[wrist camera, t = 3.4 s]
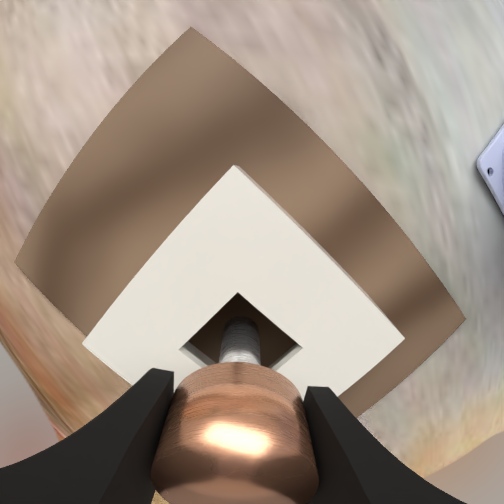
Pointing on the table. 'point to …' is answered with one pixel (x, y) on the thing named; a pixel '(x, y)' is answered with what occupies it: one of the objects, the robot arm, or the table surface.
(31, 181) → the table surface
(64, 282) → the board
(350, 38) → the table surface
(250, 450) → the plunger
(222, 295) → the hollow square block
